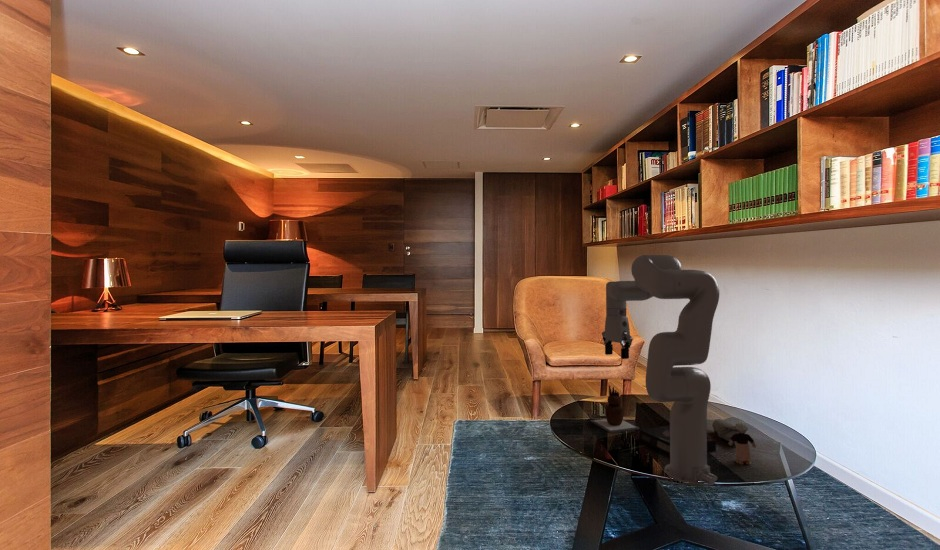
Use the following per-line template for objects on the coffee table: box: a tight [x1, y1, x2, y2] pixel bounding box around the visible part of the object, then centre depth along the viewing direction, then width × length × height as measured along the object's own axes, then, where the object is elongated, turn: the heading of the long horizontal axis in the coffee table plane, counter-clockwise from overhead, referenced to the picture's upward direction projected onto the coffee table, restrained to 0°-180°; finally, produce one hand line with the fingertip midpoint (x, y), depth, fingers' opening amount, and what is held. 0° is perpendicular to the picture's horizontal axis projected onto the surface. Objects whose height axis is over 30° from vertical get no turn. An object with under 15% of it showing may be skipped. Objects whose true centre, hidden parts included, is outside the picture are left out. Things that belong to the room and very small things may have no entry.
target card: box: [589, 417, 641, 434], centre depth 162 cm, size 13×13×1 cm
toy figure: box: [728, 421, 757, 466], centre depth 129 cm, size 8×4×13 cm, turn 92°
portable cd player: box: [638, 424, 717, 456], centre depth 143 cm, size 16×17×4 cm
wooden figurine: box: [604, 385, 625, 425], centre depth 162 cm, size 7×6×15 cm
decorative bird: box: [712, 418, 739, 449], centre depth 147 cm, size 5×16×8 cm, turn 174°
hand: (616, 356), depth 162 cm, fingers open, 9 cm apart
